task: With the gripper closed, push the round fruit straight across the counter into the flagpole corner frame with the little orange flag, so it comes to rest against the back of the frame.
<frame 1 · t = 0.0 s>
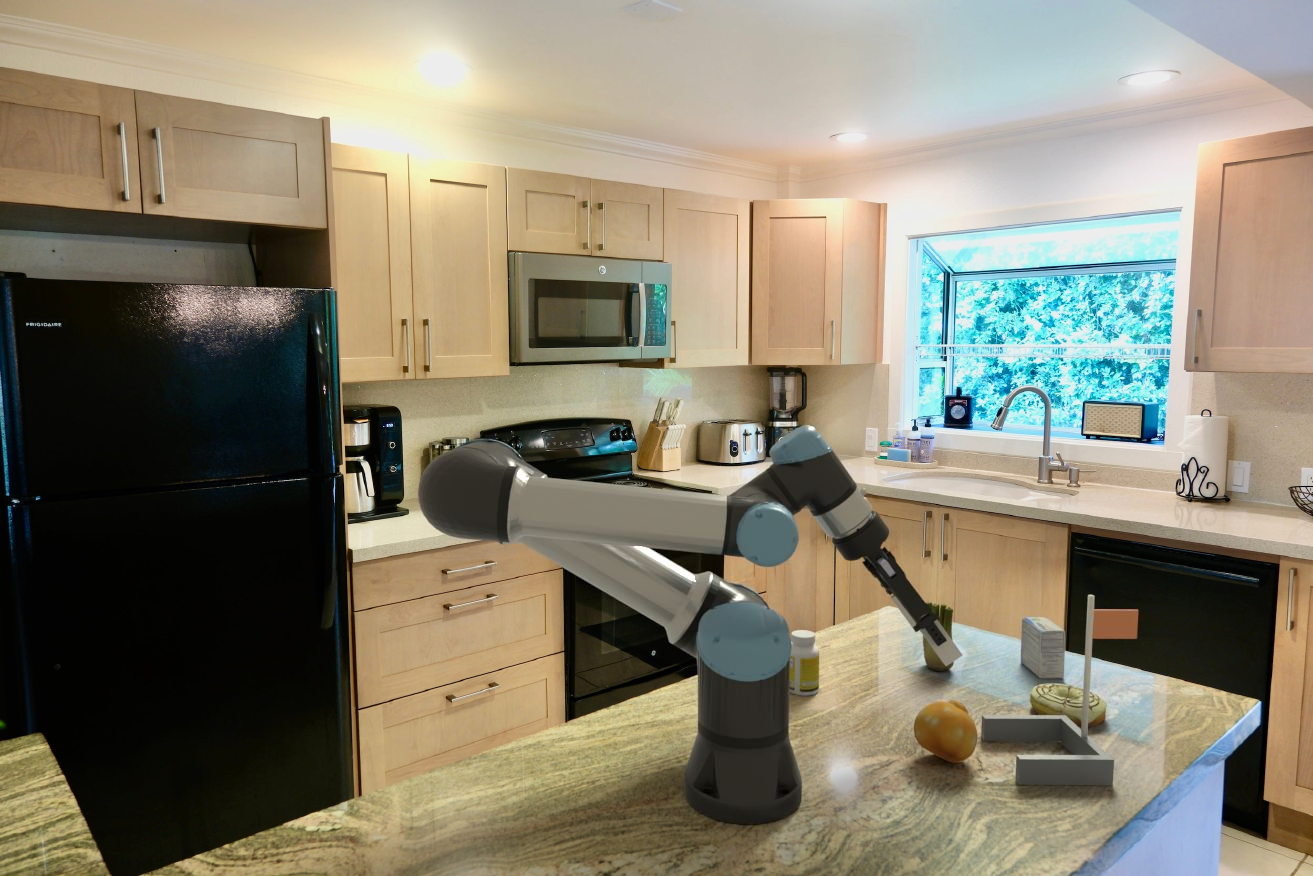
hand: (937, 642, 119), 15 cm above the counter, tool tilted 35°, fingers open, 13 cm apart
supplement bottle: (802, 691, 140), on the counter
fruit: (944, 761, 116), on the counter
decorated donut: (1066, 716, 130), on the counter
flagpole corner frame: (1038, 760, 116), on the counter
medicine box: (1041, 671, 148), on the counter
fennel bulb: (938, 669, 150), on the counter
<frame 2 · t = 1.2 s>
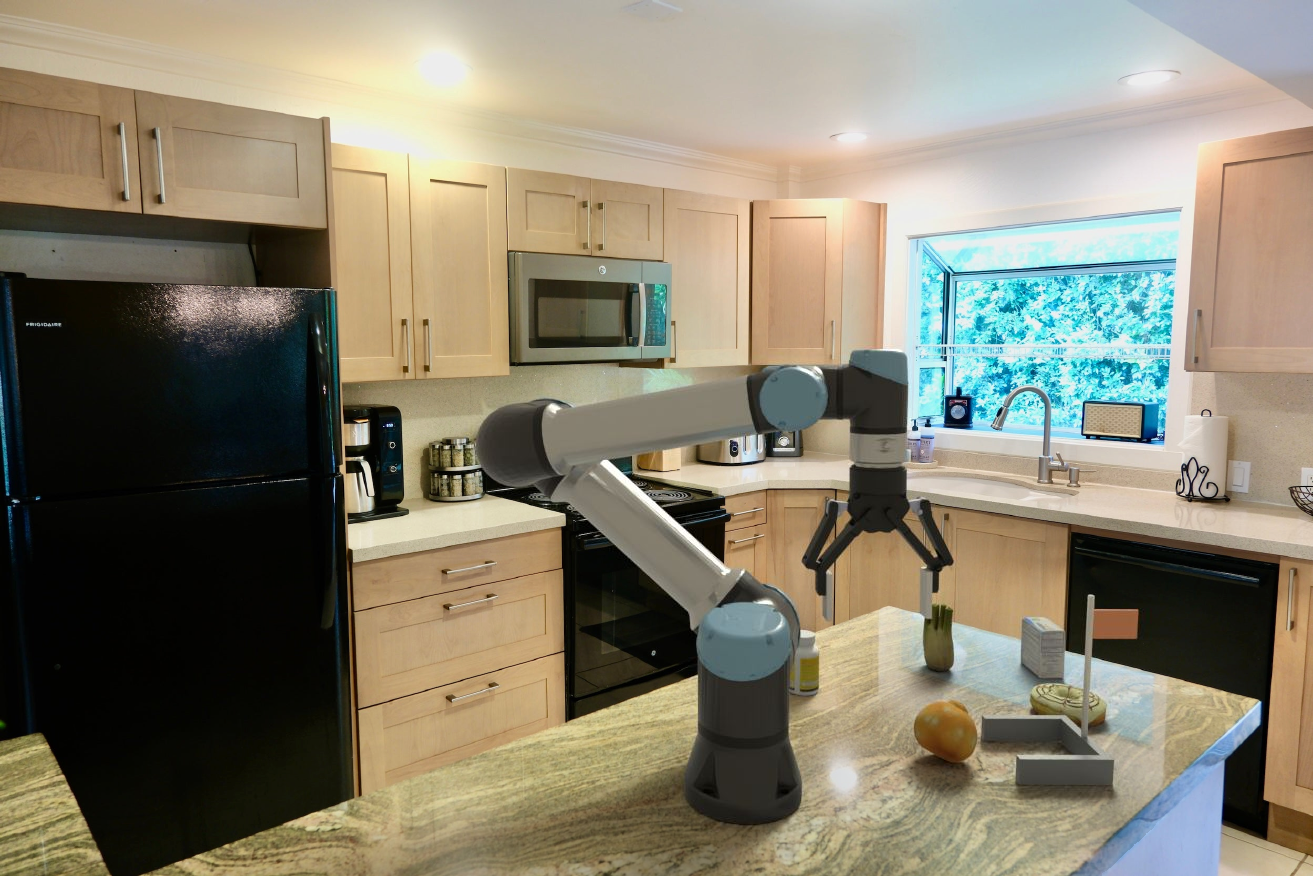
hand: (876, 617, 114), 20 cm above the counter, tool pointing down, fingers open, 13 cm apart
nothing on the counter moved.
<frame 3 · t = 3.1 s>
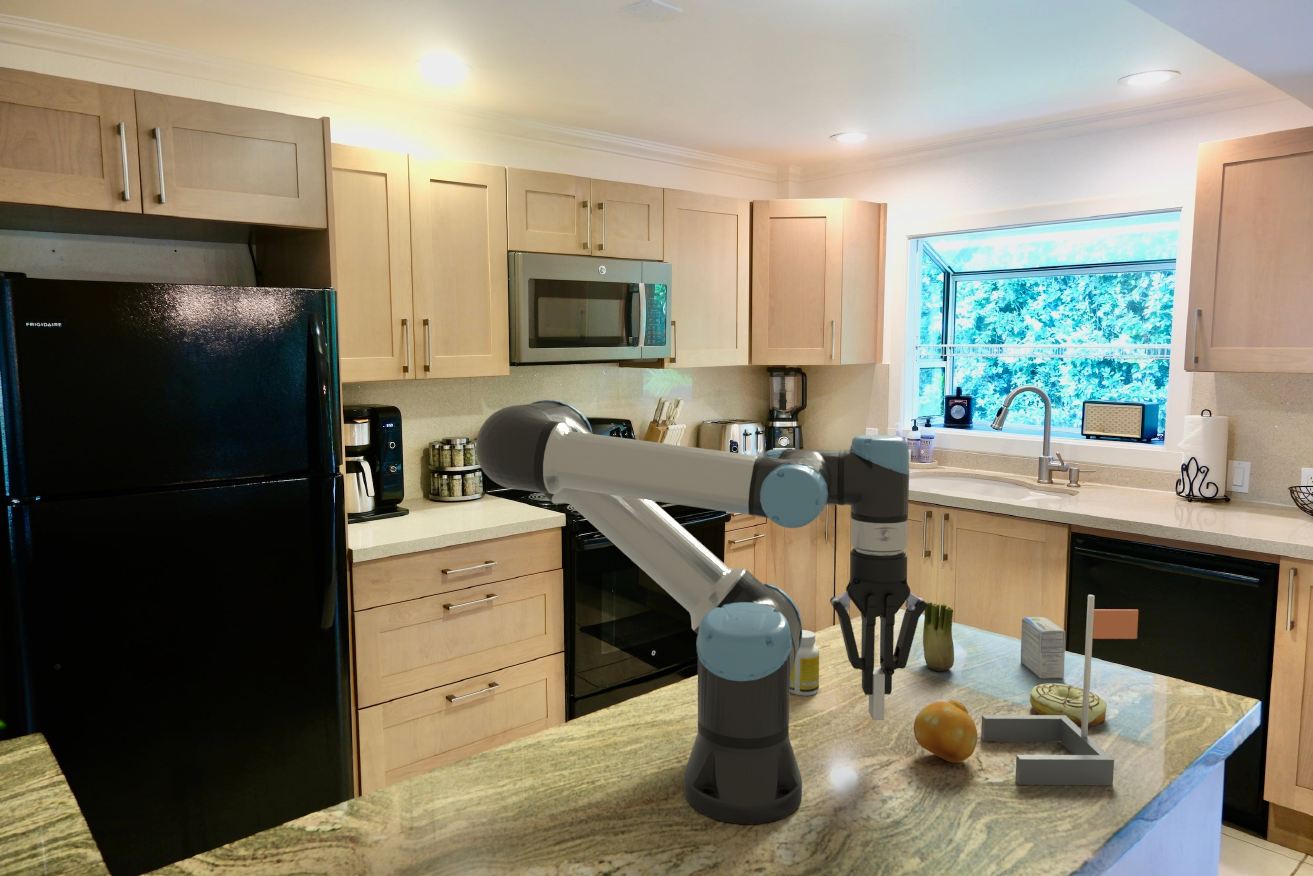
hand: (876, 715, 115), 6 cm above the counter, tool pointing down, fingers closed
nothing on the counter moved.
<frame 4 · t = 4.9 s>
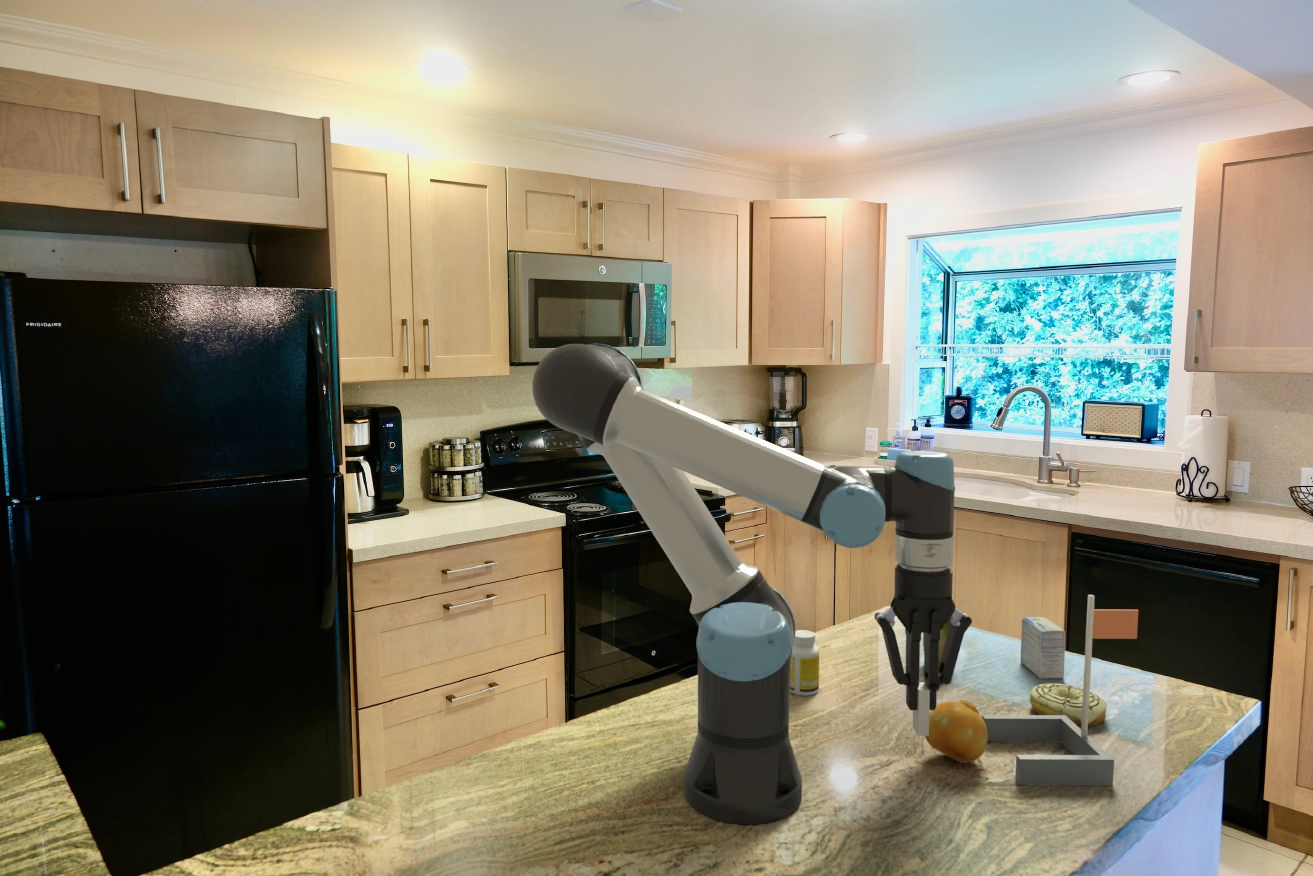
hand: (920, 731, 115), 4 cm above the counter, tool pointing down, fingers closed
fruit: (955, 761, 116), on the counter, touching gripper
everything else where it was.
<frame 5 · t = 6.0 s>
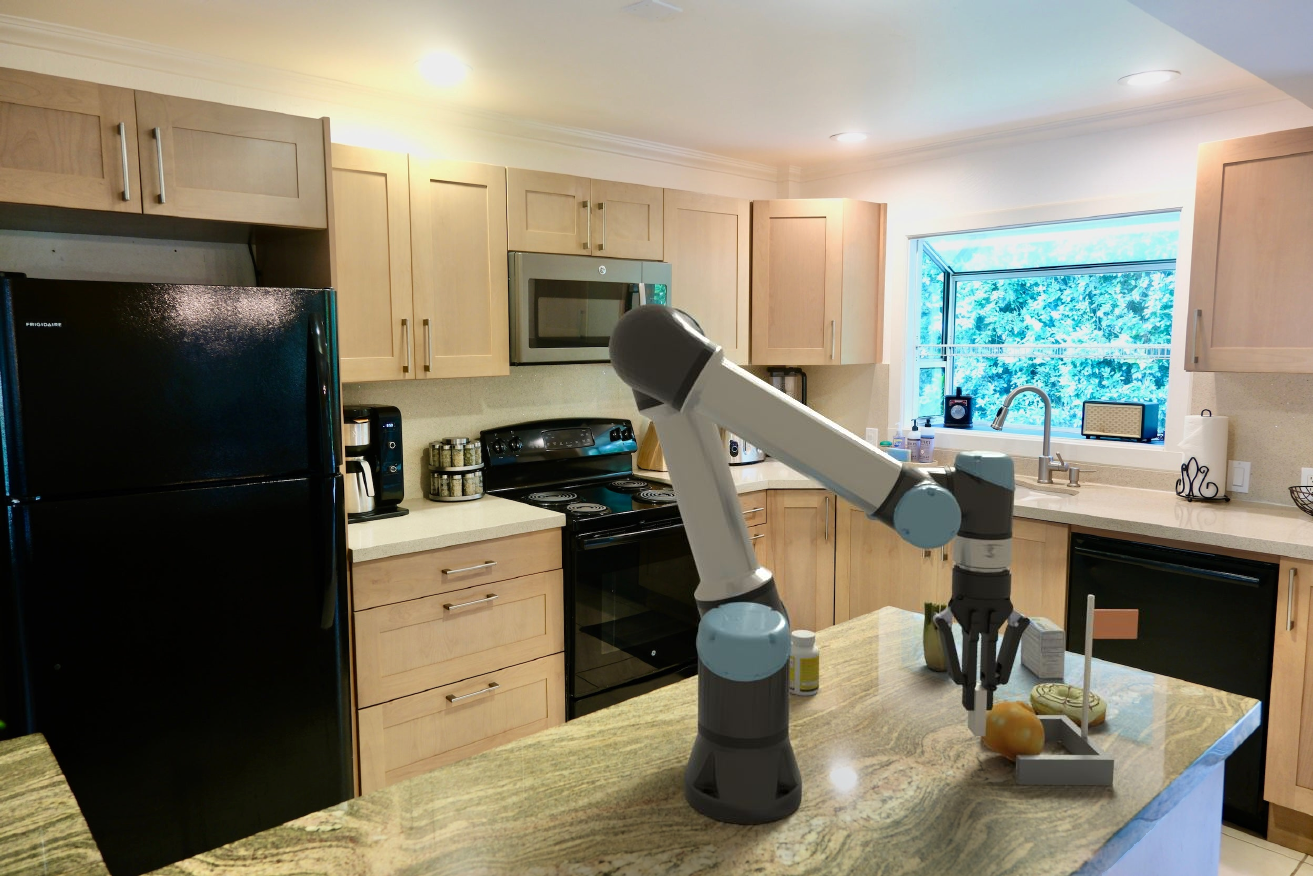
hand: (976, 731, 115), 4 cm above the counter, tool pointing down, fingers closed
fruit: (1011, 762, 116), on the counter, touching gripper
everything else where it was.
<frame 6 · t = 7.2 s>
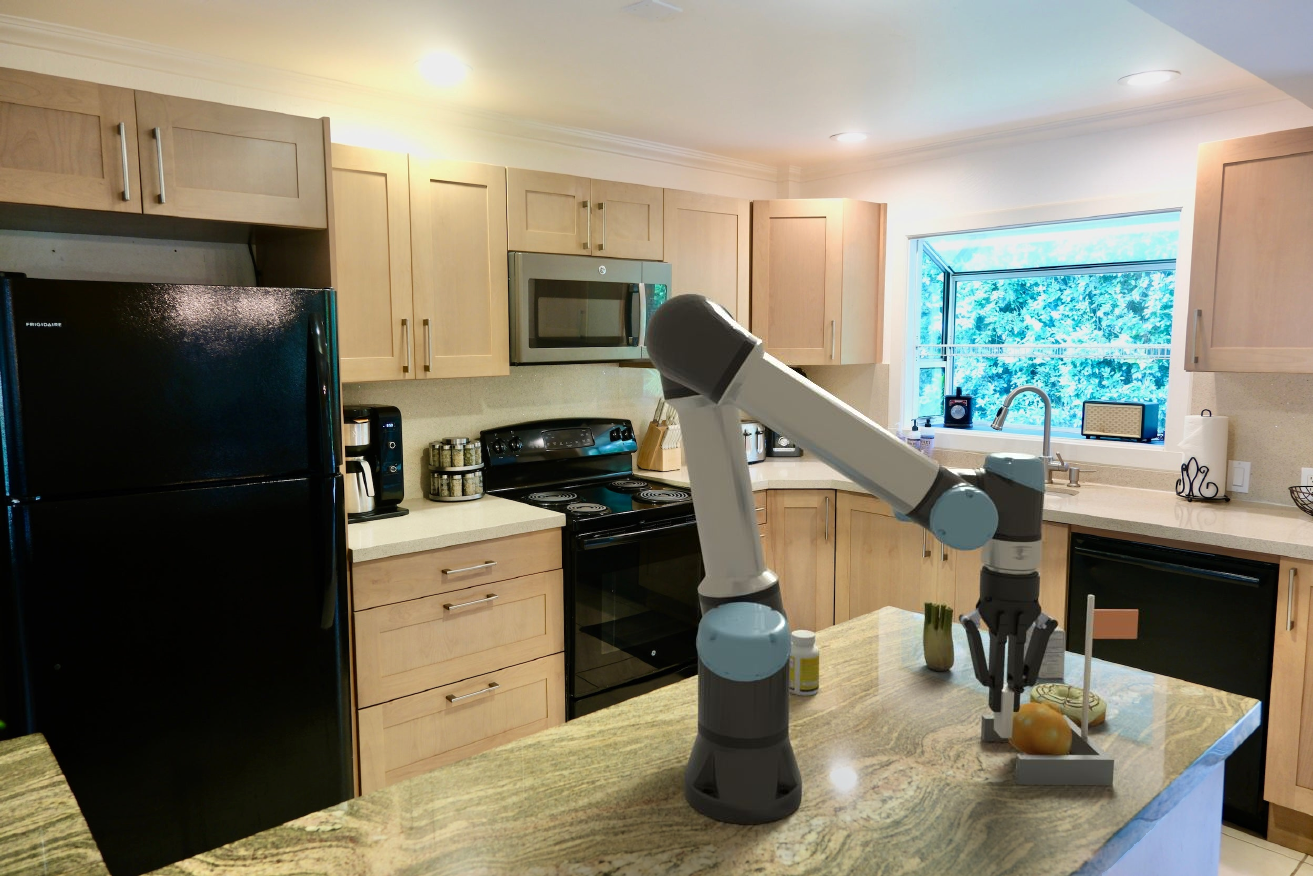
hand: (1002, 733, 115), 4 cm above the counter, tool pointing down, fingers closed
fruit: (1037, 762, 115), on the counter, touching gripper
everything else where it was.
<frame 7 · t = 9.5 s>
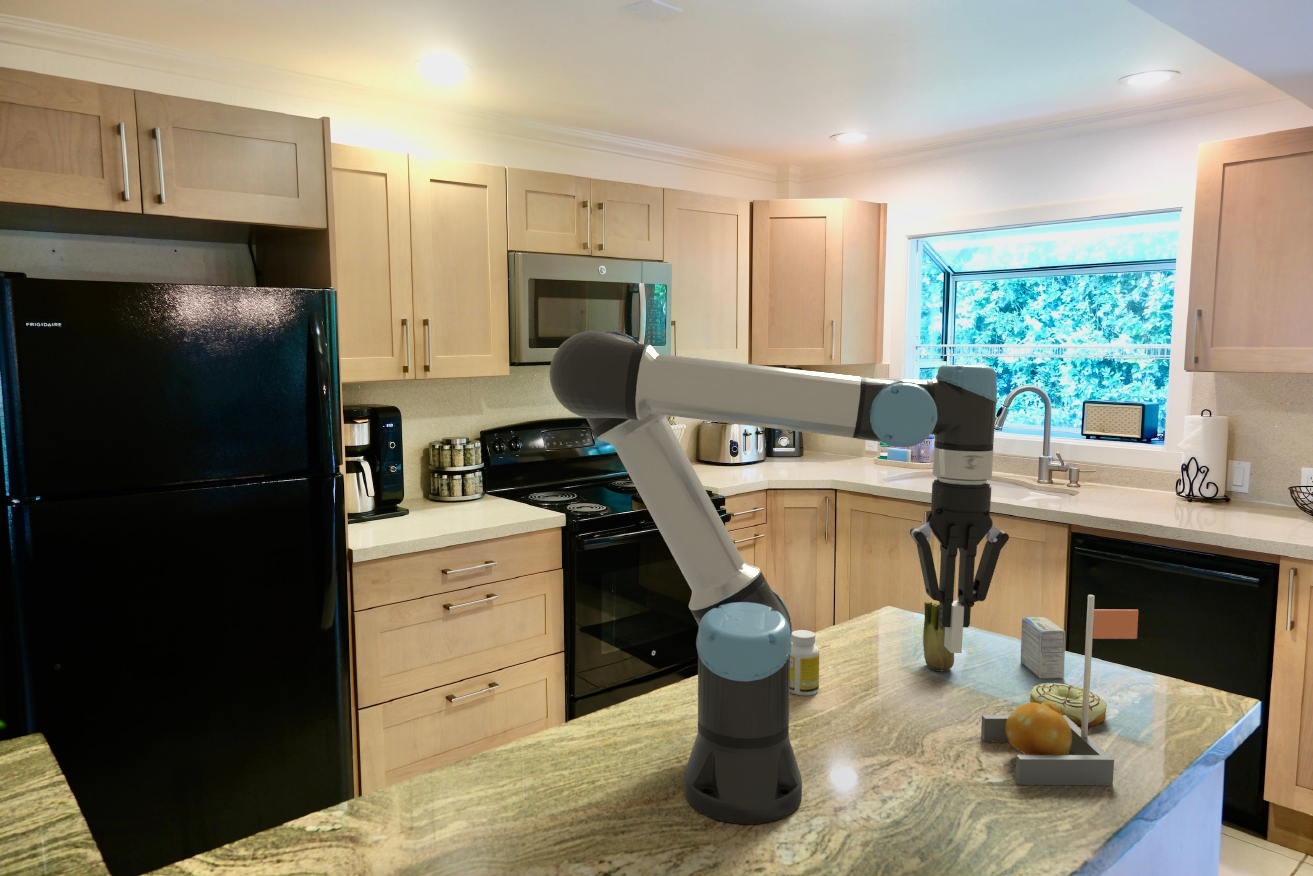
hand: (952, 649, 114), 16 cm above the counter, tool pointing down, fingers closed
fruit: (1037, 762, 115), on the counter
everything else where it was.
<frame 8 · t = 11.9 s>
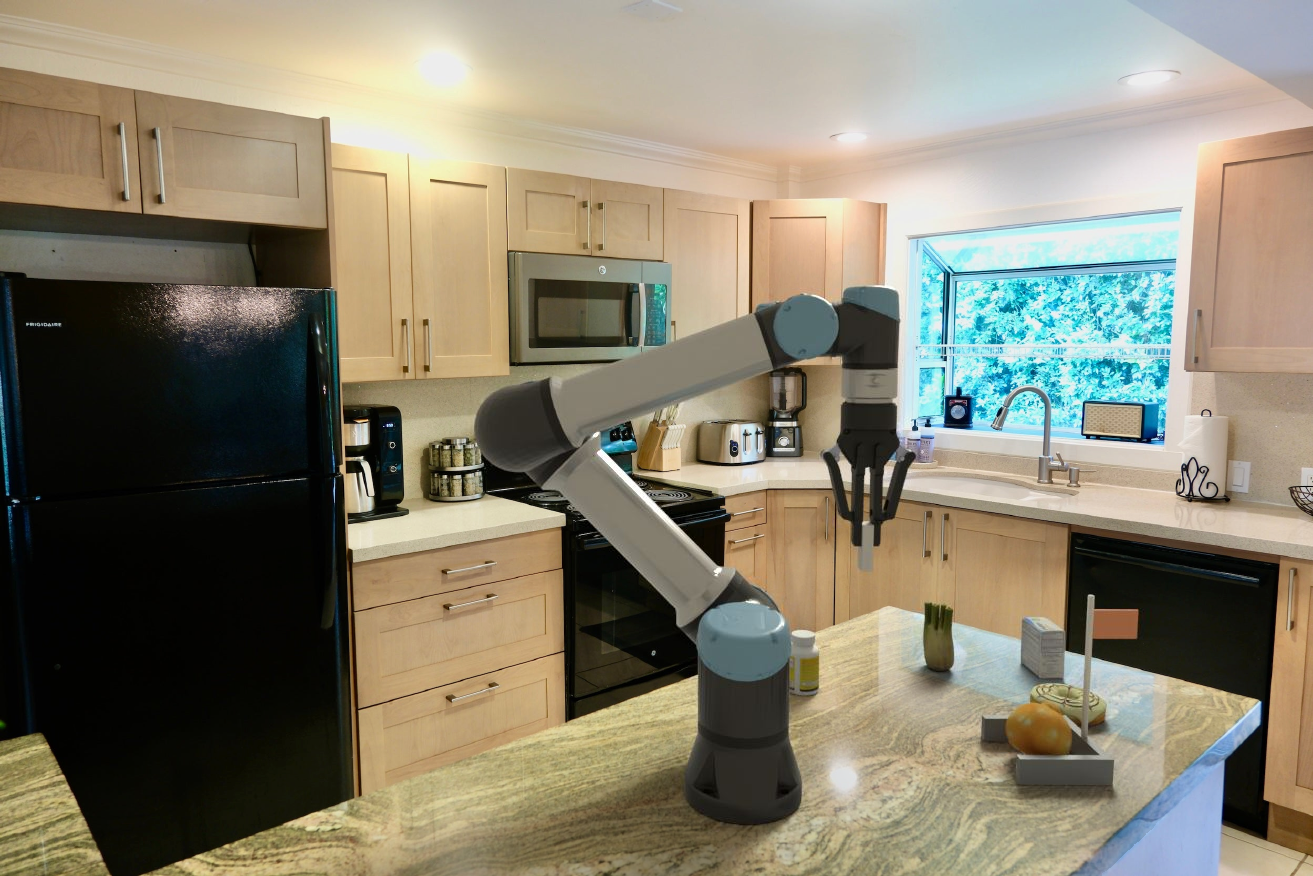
hand: (865, 568, 116), 26 cm above the counter, tool pointing down, fingers closed
nothing on the counter moved.
at the end: fruit 0.6 cm off-centre on the flagpole corner frame, point 0.0 cm above the flagpole corner frame's base; fruit moved 12.8 cm from its start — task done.
